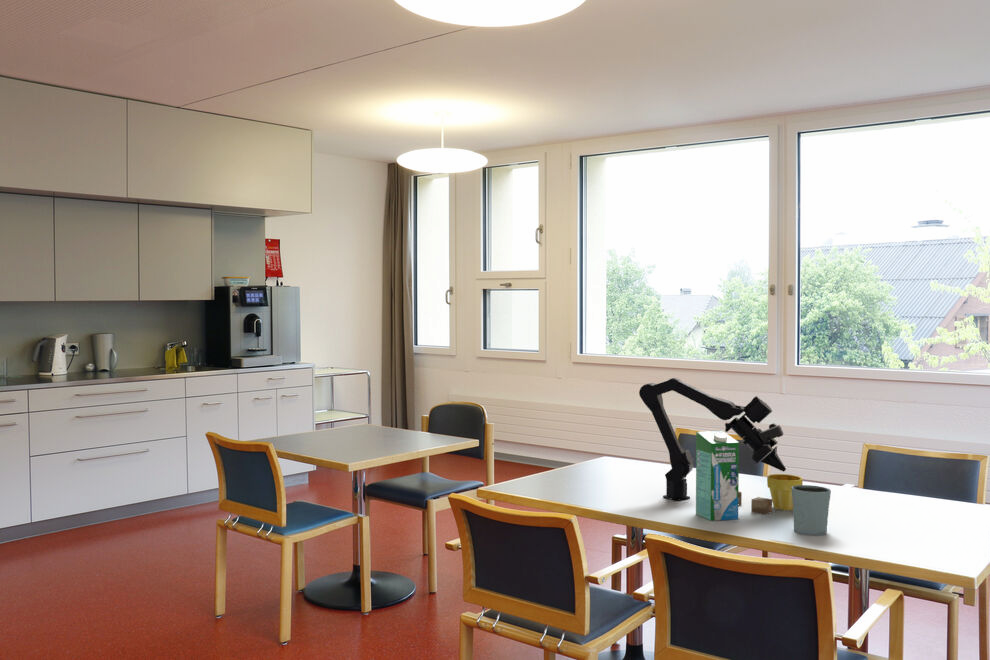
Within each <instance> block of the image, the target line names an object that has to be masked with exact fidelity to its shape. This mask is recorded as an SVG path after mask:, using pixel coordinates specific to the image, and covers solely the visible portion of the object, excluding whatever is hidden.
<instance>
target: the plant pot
mask: <svg viewBox="0 0 990 660" xmlns="http://www.w3.org/2000/svg"><path fill="white" fill-rule="evenodd" d="M766 477H767V478H766V479H767V480H766V481H767V488H768V489H769V491H770V492H769V493H770V496H771V499H772V508H774V509H775V508H776V510H778V509H781V510H780V511H793V503H792V489H791V487H792V486H796V485H804V484H803V481H804V480H803V477H802V476H799V475H794V474H788V473H774V474H769V475H767V476H766Z"/></svg>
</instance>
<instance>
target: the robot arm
mask: <svg viewBox="0 0 990 660" xmlns="http://www.w3.org/2000/svg"><path fill="white" fill-rule="evenodd" d="M672 391H673V392H675V393H676V394H679V395H680V396H684V397H685V398H688V399H689V400H691V401H693V402H695V403H697V404H699V405H701V406H702V407H704V408H706V409H707V411H710V413H712V414H713V415H714V416H715V417H717V418H718V419H720V420H722V421H728V420H731V419H732V418H733V419H732V420H731V421H730V422H725V423H724V426H725V429H724V432H725V433H728V432H730V431H731V430H732V431H733V432H735V434H736V435H737V436H738V437H739V439H741V440H742V441H743V442H742V443H743V444H744V445H747V446H748V447H749V448H750V449H751V450H752V456H751V457H752V461H754V462H755V464H758V463H759V462H760V463H763V464H765V465H768V466H770V467H772V468H774V469H777V470H779V471H780V472H785V471H786V470H787V468H786V466H785V465H784V463H783V461H782V459H781V458H780V457H779V455H778V446H777V445H778V443H779V442H778V441H777V440H776V438H780V437H782V436H784V431H783V429H782V427H781V425H780V424H776V423H771V424H769V425H768V428H767V429H765V430H762V429H761V428H757V426H755V423H758V424H761V422H762V421H763V420H764V419H765V418H767V417H768V416H769V415H770V414H771V413H772V412H773V409H772V408H771V407H770V406H769V404H768V403H767V402H764V401H763V400H762V399H760V397H759V396H758V395H755V396H754V397H753V398H752V399H751V401H749V403H748V404H747V405H746V406H743V405H736V404H735V403H734V402H733V401H731V400H727V399H725V398H720V397H717V396H713V395H710V394H709V393H706V392H705V391H702V390H700V389H698V388H696V387H694V386H693V385H692V386H691V384H688V383H686V382H685V381H682V380H681V379H680V378H677V377H672V378H669V379H668V380H665V381H663V382H660V383H655V382H650V383H645V384H643V385H642V386H641V387H640V388H639V392H638V394H639V397H640V399H641V400H642V402H643V404H645V406H646V407H647V408H648V410H649V411H650V413H651V414H652V416H653V419H654V421H655V422H656V425H657V428H658V429H659V432H660V434H661V436H662V439H663V441H664V443H665V446H666V448H667V451H668V454H669V455H668V456H669V463H670V467H671V469H670V470H668V472H666V473H665V475H664V476H665V480H666V484H665V485H666V490H665V491H666V492H665V494H664V495H662V498H666V499H670V500H673V501H682V500H688V499H690V498H691V496H689V495H688V483H687V481H688V480H687V476H688V475H689V473H691V472H692V471H693V468H694V463H693V462H694V461H695V459H694V458H693V457H692V454H691V451H690V450H689V448H688V449H686V450H685V449H684V448H683V447H682V445H681V443H680V441H679V439H678V437H677V434H676V432H675V429H674V428H673V425H672V423H671V421H670V419H669V416H668V414H667V412H666V409H665V406H664V399H663V394H666V393H669V392H672ZM743 413H744V414H743ZM740 415H741V416H740ZM737 416H740V417H739V418H738V417H737ZM775 445H776V446H775Z"/></svg>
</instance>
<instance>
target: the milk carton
mask: <svg viewBox="0 0 990 660" xmlns="http://www.w3.org/2000/svg"><path fill="white" fill-rule="evenodd" d="M695 434H696V437H695V440H696V441H695V443H696V445H695V446H696V447H695V449H696V450H695V464H696V466H695V514H696V515H697V516H700V517H701V518H704V519H706V520H708V521H711V522H715V521H717V522H718V521H731V520H738V519H739V505H738V491H739V481H740V480H739V476H740V475H739V474H740V473H739V470H740V469H739V467H740V465H739V463H740V461H739V459H740V458H739V457H740V455H739V453H740V446H739V445H740V444H739V443H740V442H739V441H738V440H736V439H735V438H733V437H732V436H730V435H729V434H727V432H725V431H723V430H713V431H711V430H710V431H709V430H708V431H696V433H695Z"/></svg>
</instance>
